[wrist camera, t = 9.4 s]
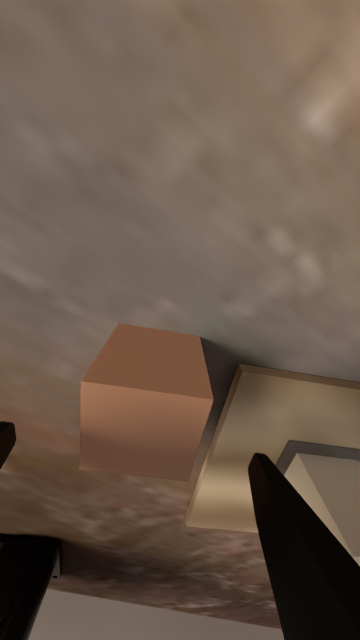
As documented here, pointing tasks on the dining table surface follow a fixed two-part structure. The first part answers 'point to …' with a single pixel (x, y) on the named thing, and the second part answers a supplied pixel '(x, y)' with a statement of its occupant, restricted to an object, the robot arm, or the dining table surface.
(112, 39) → the dining table surface
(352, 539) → the cream block
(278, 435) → the tan board
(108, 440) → the terracotta block
